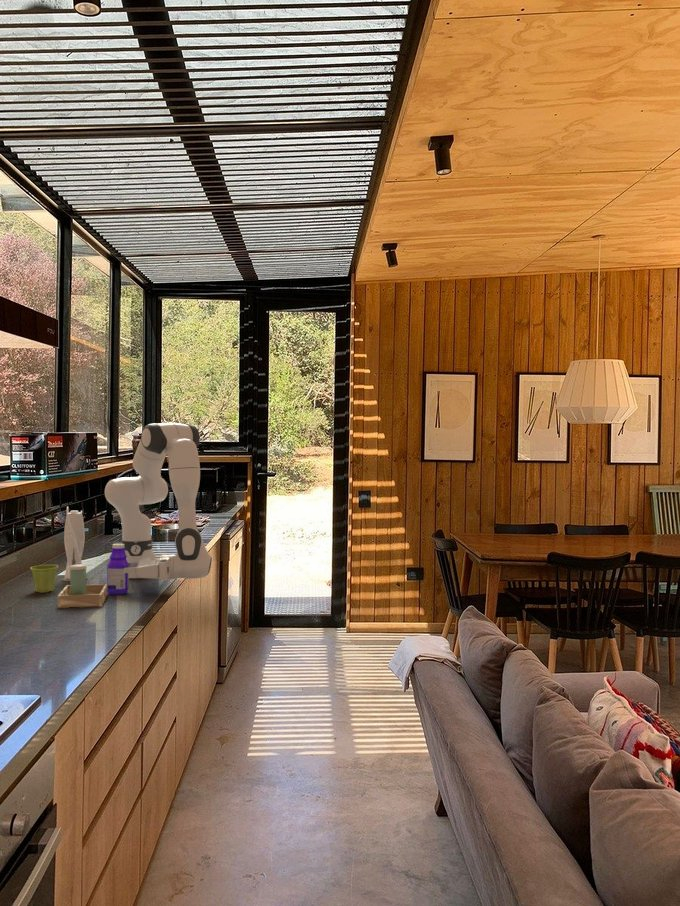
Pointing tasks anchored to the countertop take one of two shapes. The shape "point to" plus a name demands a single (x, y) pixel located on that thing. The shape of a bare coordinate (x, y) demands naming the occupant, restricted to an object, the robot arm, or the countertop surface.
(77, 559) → the skyscraper
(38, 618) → the countertop surface
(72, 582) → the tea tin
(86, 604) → the crate
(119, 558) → the bottle
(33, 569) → the plant pot
